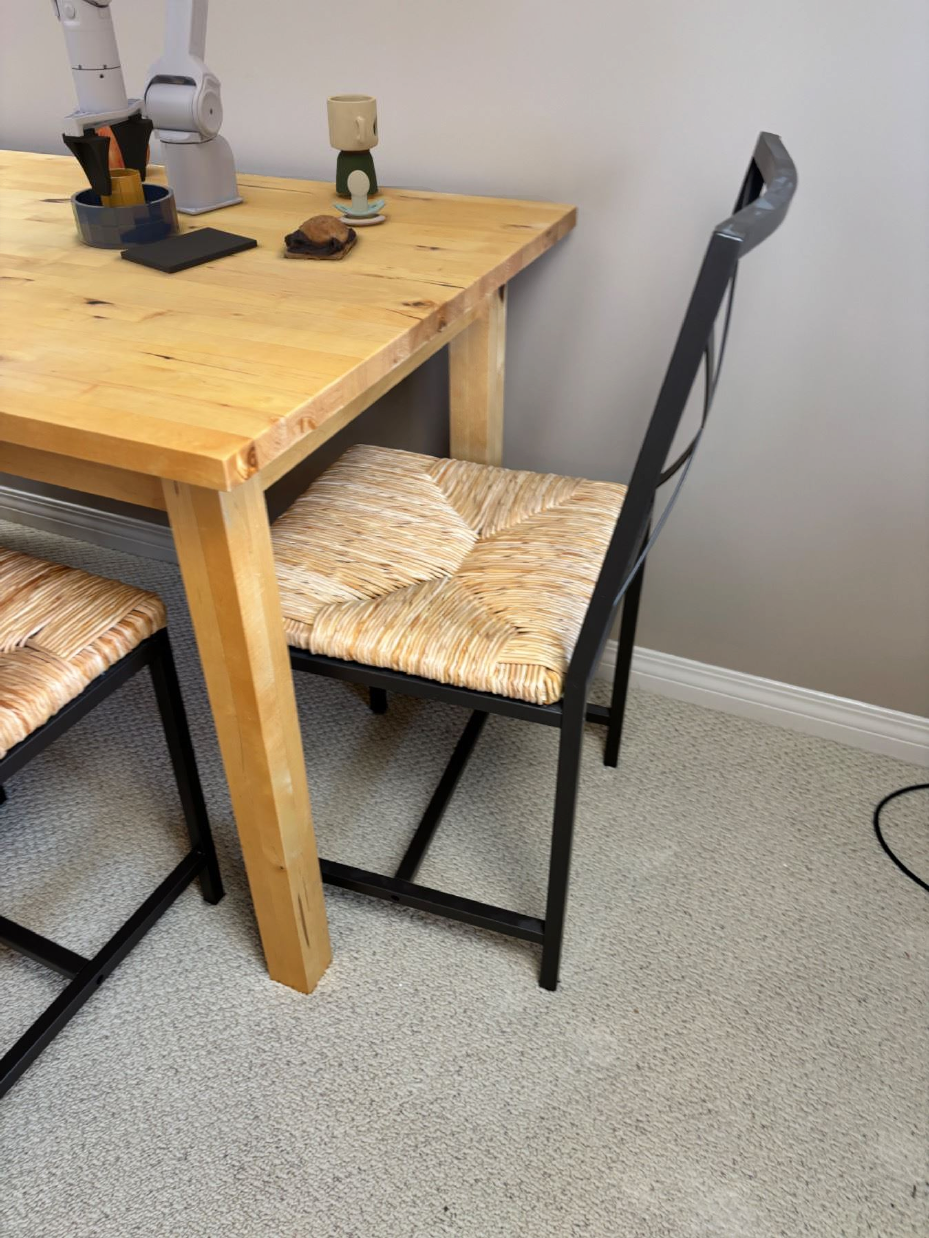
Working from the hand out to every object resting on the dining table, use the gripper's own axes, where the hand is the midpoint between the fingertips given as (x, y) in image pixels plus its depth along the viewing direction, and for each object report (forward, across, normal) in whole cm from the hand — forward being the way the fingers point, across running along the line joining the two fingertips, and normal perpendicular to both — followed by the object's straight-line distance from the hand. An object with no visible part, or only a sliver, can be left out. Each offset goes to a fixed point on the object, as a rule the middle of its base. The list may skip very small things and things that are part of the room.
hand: (120, 188), depth 121 cm
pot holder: (+6, +4, +12) cm, 14 cm away
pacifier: (+6, -16, +26) cm, 32 cm away
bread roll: (+6, -3, +26) cm, 27 cm away
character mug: (+6, -29, +21) cm, 36 cm away
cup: (+5, 0, 0) cm, 5 cm away
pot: (+6, 0, 0) cm, 6 cm away
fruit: (+6, -28, -19) cm, 35 cm away
